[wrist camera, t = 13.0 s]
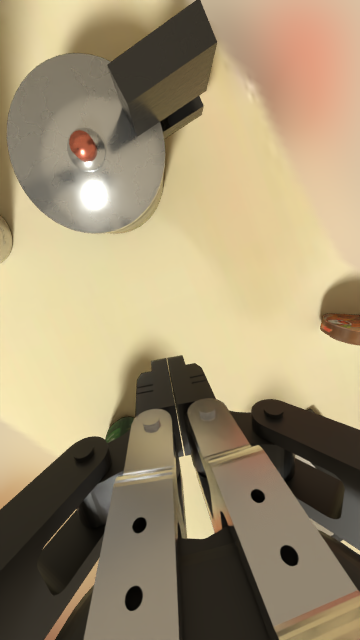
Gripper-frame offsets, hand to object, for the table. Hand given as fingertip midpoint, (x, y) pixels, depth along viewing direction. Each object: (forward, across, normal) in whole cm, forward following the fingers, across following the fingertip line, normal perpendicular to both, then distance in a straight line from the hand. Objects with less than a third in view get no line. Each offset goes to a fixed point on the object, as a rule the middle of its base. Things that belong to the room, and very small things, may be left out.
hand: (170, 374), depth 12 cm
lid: (+23, -2, +17) cm, 29 cm away
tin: (+28, +35, -14) cm, 47 cm away
